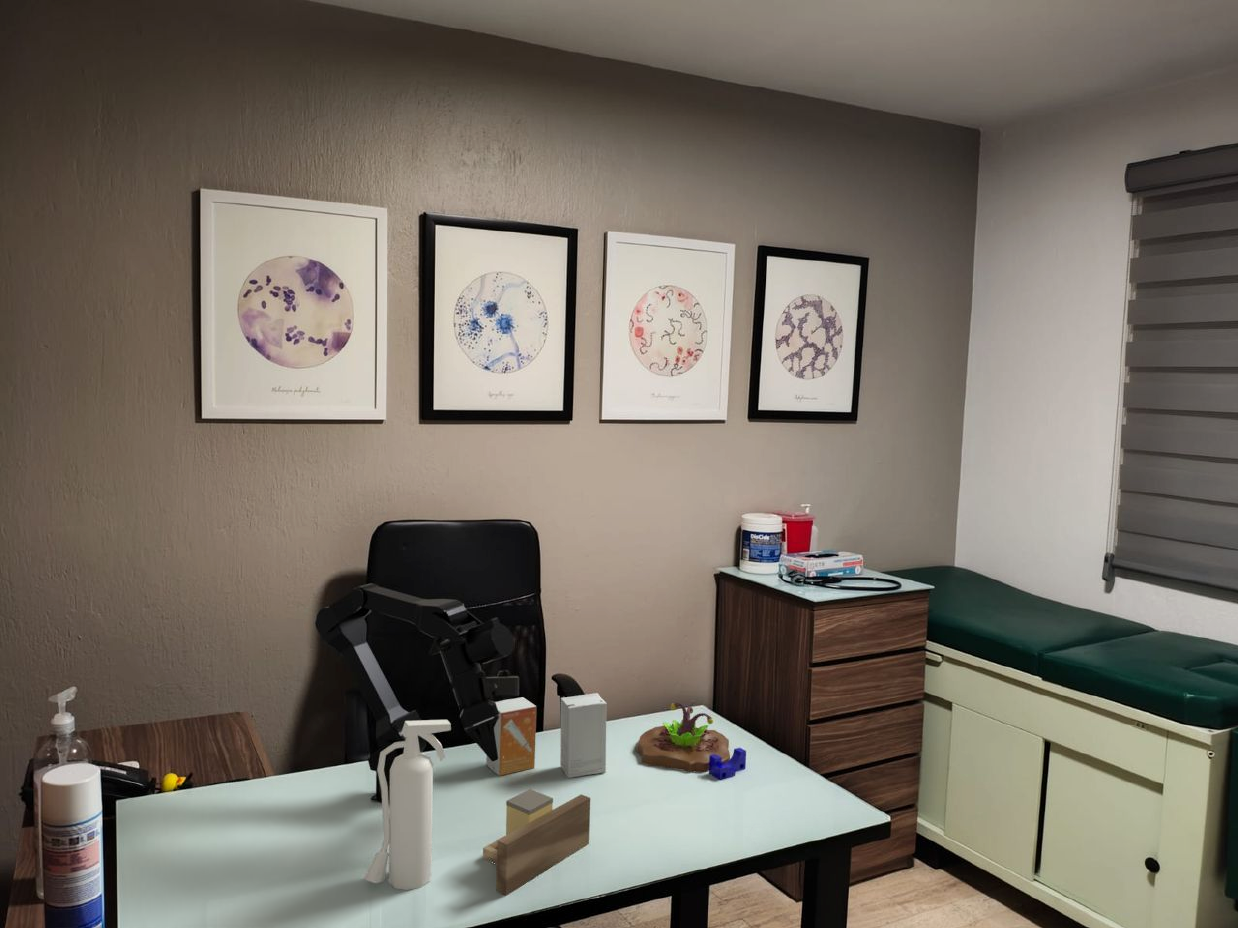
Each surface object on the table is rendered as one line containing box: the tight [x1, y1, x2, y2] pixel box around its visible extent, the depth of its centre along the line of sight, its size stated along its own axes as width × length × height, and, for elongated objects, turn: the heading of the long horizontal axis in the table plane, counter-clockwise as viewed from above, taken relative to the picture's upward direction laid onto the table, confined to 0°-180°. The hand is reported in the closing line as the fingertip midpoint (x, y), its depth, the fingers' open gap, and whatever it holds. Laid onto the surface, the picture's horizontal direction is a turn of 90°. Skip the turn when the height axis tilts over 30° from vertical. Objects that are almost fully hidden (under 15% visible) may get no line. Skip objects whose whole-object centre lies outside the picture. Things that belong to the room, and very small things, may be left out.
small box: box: [486, 696, 537, 777], centre depth 176 cm, size 8×6×13 cm
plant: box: [637, 702, 731, 773], centre depth 186 cm, size 20×20×11 cm
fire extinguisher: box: [364, 719, 452, 891], centre depth 134 cm, size 7×12×25 cm, turn 116°
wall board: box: [482, 793, 591, 896], centre depth 142 cm, size 10×20×8 cm, turn 143°
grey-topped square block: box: [505, 788, 554, 835], centre depth 142 cm, size 5×6×10 cm
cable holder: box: [708, 747, 747, 781], centre depth 177 cm, size 8×4×4 cm, turn 123°
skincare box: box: [559, 692, 608, 779], centre depth 175 cm, size 8×6×15 cm
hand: (494, 756), depth 152 cm, fingers open, 9 cm apart
